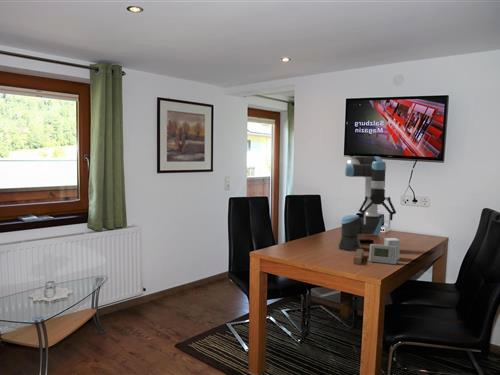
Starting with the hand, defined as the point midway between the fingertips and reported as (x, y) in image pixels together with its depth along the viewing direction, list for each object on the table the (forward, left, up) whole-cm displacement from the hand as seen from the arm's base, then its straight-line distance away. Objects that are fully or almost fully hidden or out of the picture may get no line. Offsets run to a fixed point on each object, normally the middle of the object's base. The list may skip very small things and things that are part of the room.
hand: (376, 225), depth 228 cm
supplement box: (-25, +9, -25) cm, 37 cm away
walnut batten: (-15, -11, -25) cm, 31 cm away
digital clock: (-13, +4, -25) cm, 29 cm away
